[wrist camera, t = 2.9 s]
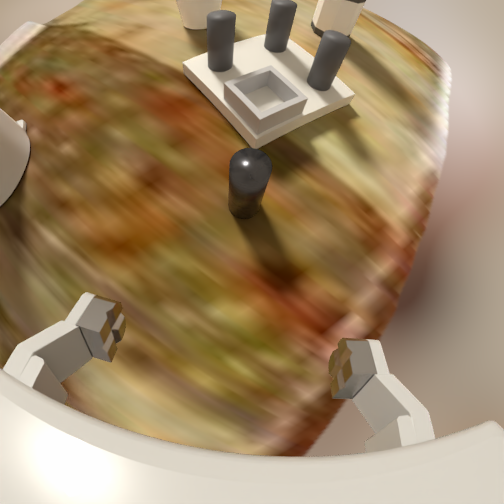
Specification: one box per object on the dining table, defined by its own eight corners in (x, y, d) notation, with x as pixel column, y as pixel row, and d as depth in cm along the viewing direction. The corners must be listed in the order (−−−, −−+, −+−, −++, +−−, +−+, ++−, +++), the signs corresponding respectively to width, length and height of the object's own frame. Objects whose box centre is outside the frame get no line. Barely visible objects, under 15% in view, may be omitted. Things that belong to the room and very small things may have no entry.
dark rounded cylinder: (225, 215, 30) (225, 180, 21) (231, 187, 31) (234, 144, 22) (257, 221, 30) (269, 188, 22) (261, 192, 31) (274, 152, 22)
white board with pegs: (254, 150, 32) (266, 85, 21) (183, 73, 34) (176, 14, 23) (349, 103, 36) (379, 52, 24) (276, 41, 37) (287, -9, 26)
